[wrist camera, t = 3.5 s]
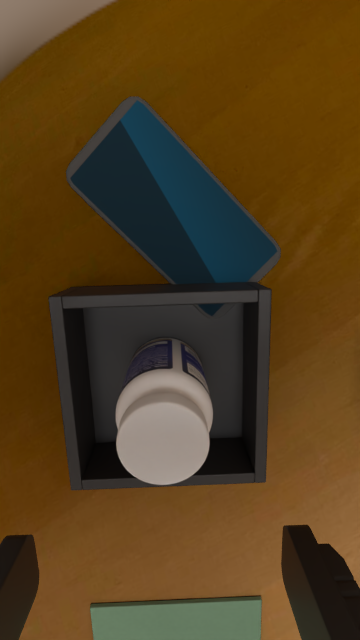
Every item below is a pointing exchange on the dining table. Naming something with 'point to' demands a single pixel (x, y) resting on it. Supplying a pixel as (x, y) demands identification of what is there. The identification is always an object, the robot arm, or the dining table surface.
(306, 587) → the robot arm
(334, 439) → the dining table surface
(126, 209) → the smartphone
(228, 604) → the mat
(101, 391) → the black box
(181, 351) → the pill bottle
